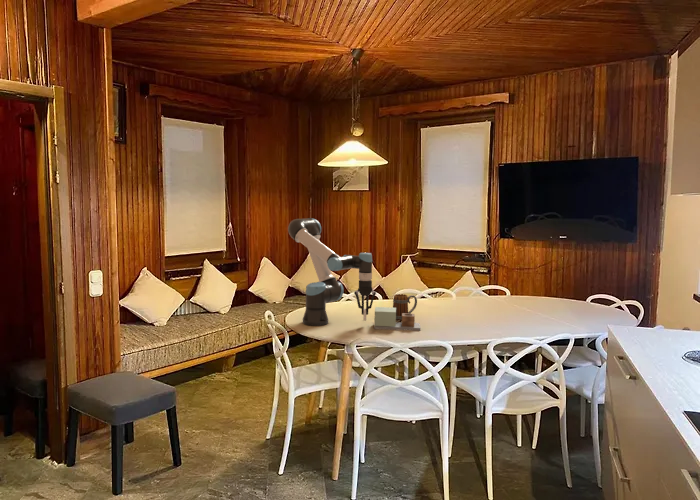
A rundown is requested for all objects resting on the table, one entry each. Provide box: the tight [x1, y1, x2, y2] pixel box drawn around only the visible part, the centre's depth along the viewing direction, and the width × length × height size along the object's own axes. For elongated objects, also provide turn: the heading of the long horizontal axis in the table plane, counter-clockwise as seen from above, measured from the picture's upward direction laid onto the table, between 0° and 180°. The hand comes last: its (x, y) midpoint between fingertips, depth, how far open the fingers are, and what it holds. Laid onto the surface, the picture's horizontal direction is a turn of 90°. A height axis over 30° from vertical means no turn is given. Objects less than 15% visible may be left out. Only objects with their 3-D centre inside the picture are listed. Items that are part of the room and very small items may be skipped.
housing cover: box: [373, 306, 397, 327], centre depth 317 cm, size 12×12×8 cm
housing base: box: [373, 321, 421, 332], centre depth 316 cm, size 26×12×6 cm, turn 85°
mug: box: [392, 293, 418, 322], centre depth 336 cm, size 16×11×15 cm
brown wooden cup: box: [401, 313, 415, 327], centre depth 316 cm, size 7×7×6 cm
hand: (364, 320), depth 318 cm, fingers closed
